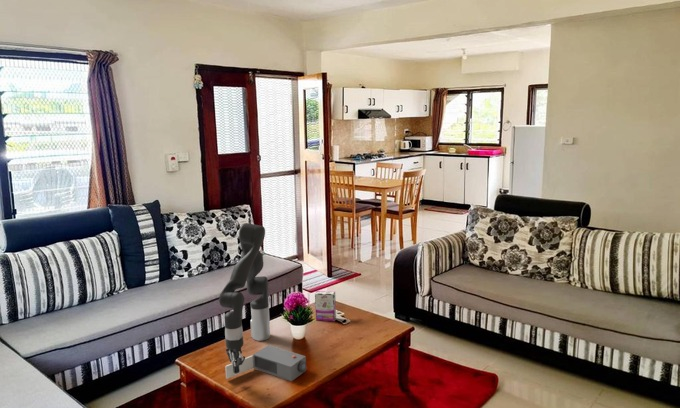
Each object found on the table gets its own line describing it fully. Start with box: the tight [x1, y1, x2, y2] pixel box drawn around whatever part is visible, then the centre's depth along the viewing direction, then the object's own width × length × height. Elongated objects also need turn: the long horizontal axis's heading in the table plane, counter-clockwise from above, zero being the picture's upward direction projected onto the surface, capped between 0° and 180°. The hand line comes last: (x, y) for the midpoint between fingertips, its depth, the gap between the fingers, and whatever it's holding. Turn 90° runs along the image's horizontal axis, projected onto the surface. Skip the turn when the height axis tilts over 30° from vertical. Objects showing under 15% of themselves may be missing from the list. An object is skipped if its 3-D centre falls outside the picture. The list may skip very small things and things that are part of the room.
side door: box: [224, 354, 255, 380], centre depth 218 cm, size 14×1×6 cm, turn 132°
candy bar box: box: [314, 290, 337, 322], centre depth 275 cm, size 11×5×16 cm, turn 80°
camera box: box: [252, 344, 308, 382], centre depth 221 cm, size 24×11×8 cm, turn 57°
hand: (236, 372), depth 210 cm, fingers closed
